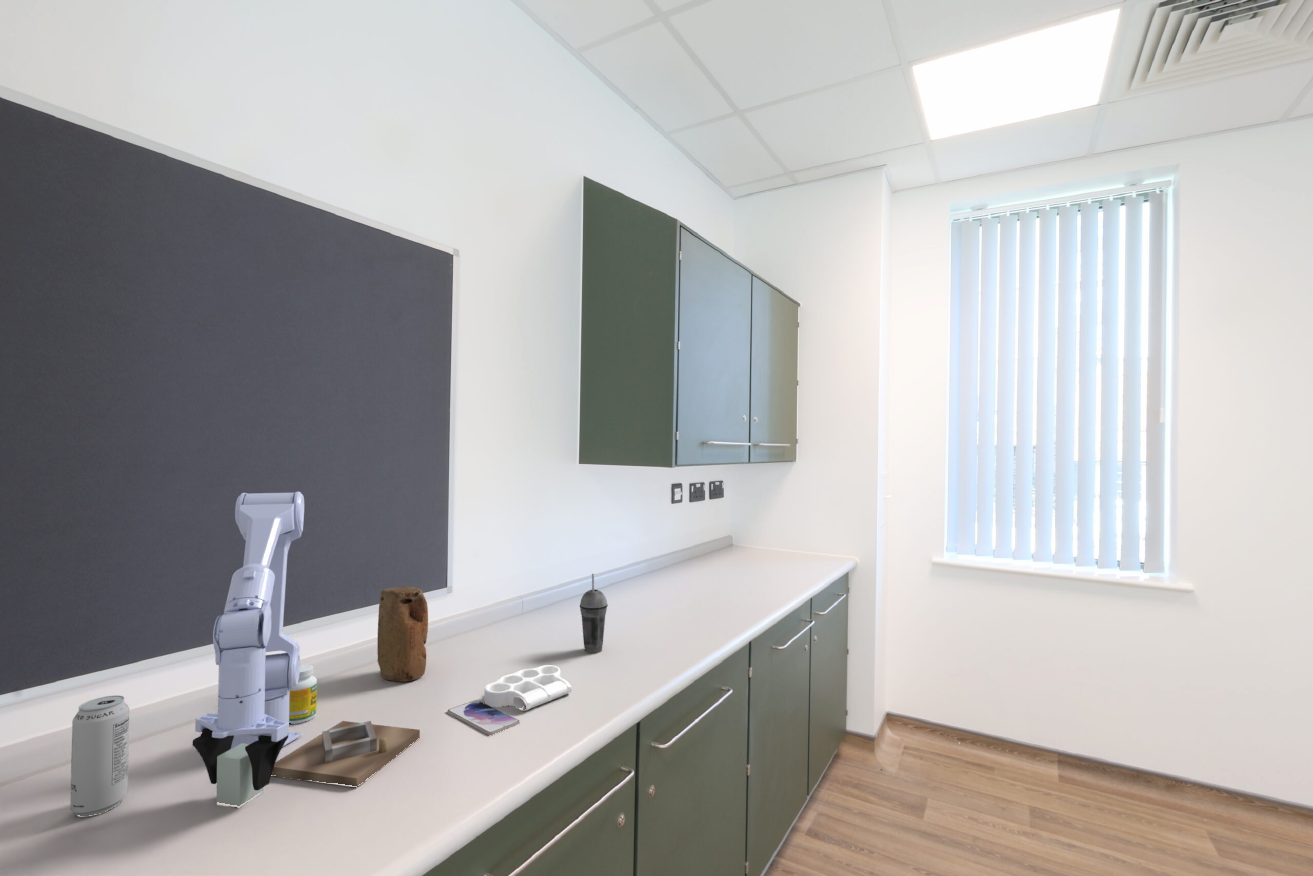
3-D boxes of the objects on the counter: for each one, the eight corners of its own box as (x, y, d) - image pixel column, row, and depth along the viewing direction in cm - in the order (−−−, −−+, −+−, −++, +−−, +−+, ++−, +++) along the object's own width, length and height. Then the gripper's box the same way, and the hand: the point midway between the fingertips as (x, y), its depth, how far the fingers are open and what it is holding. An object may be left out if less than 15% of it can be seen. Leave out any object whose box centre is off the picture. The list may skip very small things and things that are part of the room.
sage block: (216, 805, 86) (217, 756, 86) (241, 789, 90) (241, 743, 90) (239, 808, 85) (239, 759, 85) (263, 792, 89) (263, 746, 89)
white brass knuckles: (512, 721, 114) (471, 699, 123) (583, 692, 127) (541, 674, 137) (512, 703, 114) (471, 683, 123) (583, 676, 127) (541, 660, 137)
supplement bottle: (286, 715, 115) (287, 665, 115) (317, 710, 117) (318, 661, 117) (282, 727, 110) (282, 675, 110) (315, 721, 112) (315, 671, 112)
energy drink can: (82, 800, 87) (84, 697, 87) (134, 791, 89) (136, 691, 89) (61, 824, 81) (63, 714, 81) (117, 813, 84) (119, 707, 84)
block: (373, 676, 134) (375, 588, 135) (403, 666, 141) (404, 582, 141) (403, 687, 128) (404, 595, 129) (432, 675, 135) (433, 588, 135)
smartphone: (476, 699, 122) (521, 720, 112) (476, 703, 122) (521, 725, 112) (445, 710, 116) (489, 733, 106) (445, 714, 116) (489, 738, 106)
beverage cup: (609, 646, 156) (610, 570, 156) (604, 655, 148) (605, 576, 149) (582, 645, 156) (583, 569, 157) (576, 654, 149) (576, 575, 149)
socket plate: (268, 775, 93) (269, 753, 93) (342, 729, 109) (342, 710, 109) (356, 788, 90) (357, 765, 90) (419, 738, 106) (419, 718, 106)
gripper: (175, 697, 85) (173, 792, 85) (259, 706, 82) (257, 805, 82) (220, 679, 92) (219, 767, 92) (299, 687, 89) (298, 778, 89)
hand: (240, 783), depth 87 cm, fingers open, 7 cm apart
